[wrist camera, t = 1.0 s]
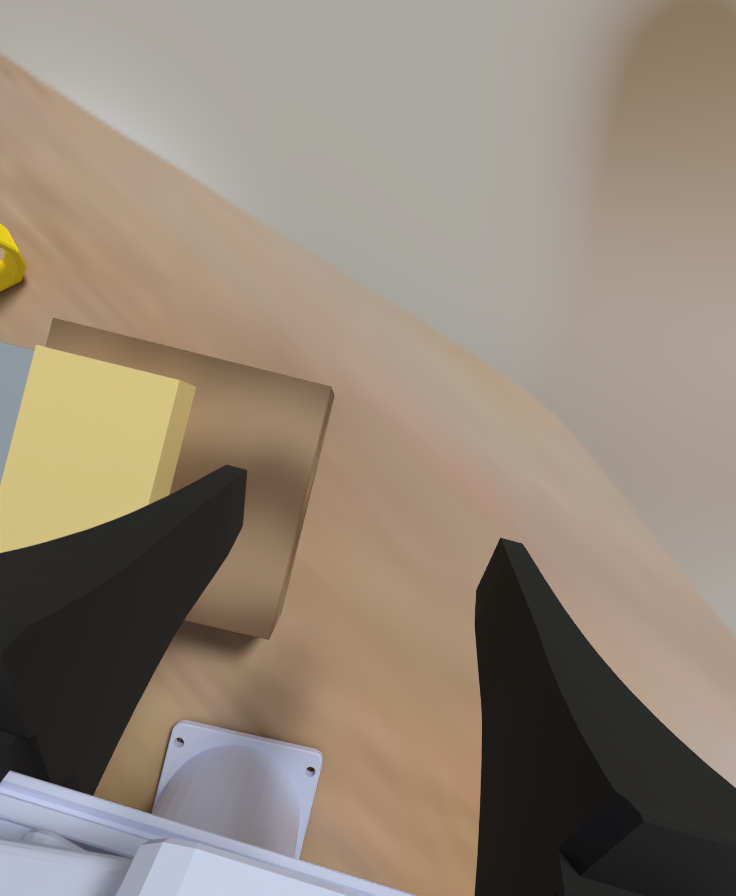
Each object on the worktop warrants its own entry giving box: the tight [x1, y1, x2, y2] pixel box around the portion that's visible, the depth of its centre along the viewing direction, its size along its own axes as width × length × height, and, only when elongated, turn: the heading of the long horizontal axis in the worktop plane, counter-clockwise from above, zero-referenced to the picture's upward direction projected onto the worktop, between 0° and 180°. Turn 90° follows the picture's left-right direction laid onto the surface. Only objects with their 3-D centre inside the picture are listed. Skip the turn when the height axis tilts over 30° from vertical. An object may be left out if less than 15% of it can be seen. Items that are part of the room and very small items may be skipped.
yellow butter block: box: [0, 345, 196, 553], centre depth 20 cm, size 9×6×2 cm, turn 166°
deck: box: [46, 318, 334, 640], centre depth 23 cm, size 12×13×4 cm
